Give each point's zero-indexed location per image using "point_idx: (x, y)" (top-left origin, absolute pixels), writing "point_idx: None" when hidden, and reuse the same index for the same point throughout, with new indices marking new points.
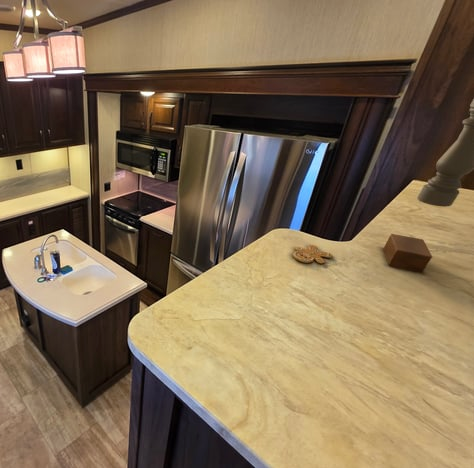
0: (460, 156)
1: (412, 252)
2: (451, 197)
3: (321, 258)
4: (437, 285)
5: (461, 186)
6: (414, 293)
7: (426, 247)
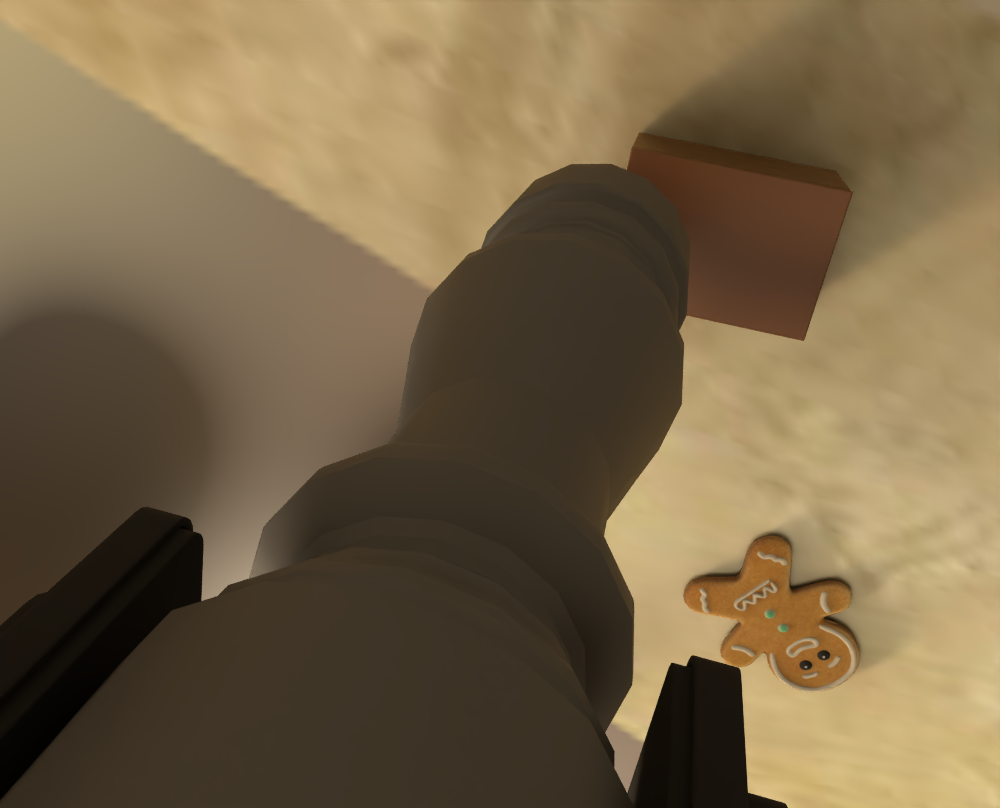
0: (636, 476)
1: (819, 275)
2: (685, 251)
3: (817, 593)
4: (950, 145)
5: (632, 220)
6: None
7: (740, 175)
